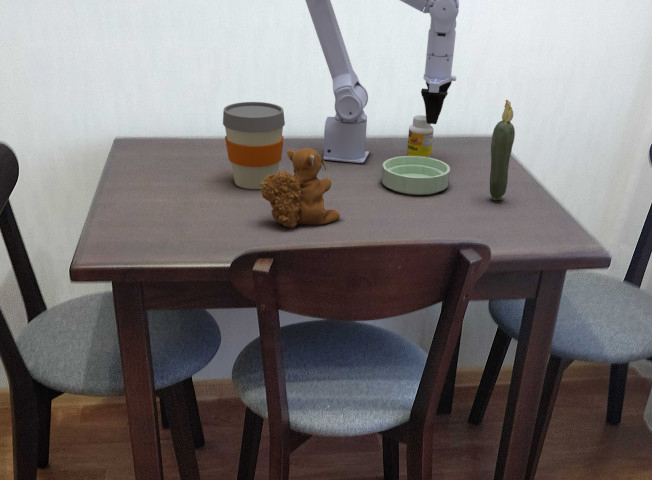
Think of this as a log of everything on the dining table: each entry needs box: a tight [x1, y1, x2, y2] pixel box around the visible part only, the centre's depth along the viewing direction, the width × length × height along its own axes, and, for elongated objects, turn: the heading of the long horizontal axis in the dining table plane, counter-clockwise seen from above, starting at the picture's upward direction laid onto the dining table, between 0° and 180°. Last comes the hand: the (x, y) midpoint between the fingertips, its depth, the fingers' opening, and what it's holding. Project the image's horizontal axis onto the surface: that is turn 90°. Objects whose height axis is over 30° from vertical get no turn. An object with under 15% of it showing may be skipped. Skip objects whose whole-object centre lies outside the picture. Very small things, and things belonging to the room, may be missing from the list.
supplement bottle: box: [406, 114, 435, 158], centre depth 174 cm, size 6×6×10 cm
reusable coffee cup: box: [222, 101, 286, 190], centre depth 159 cm, size 13×13×15 cm
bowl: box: [381, 155, 451, 196], centre depth 164 cm, size 14×14×4 cm
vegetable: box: [489, 99, 516, 201], centre depth 153 cm, size 4×4×20 cm
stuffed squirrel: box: [259, 147, 341, 229], centre depth 143 cm, size 10×14×13 cm
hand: (433, 118), depth 171 cm, fingers open, 7 cm apart
